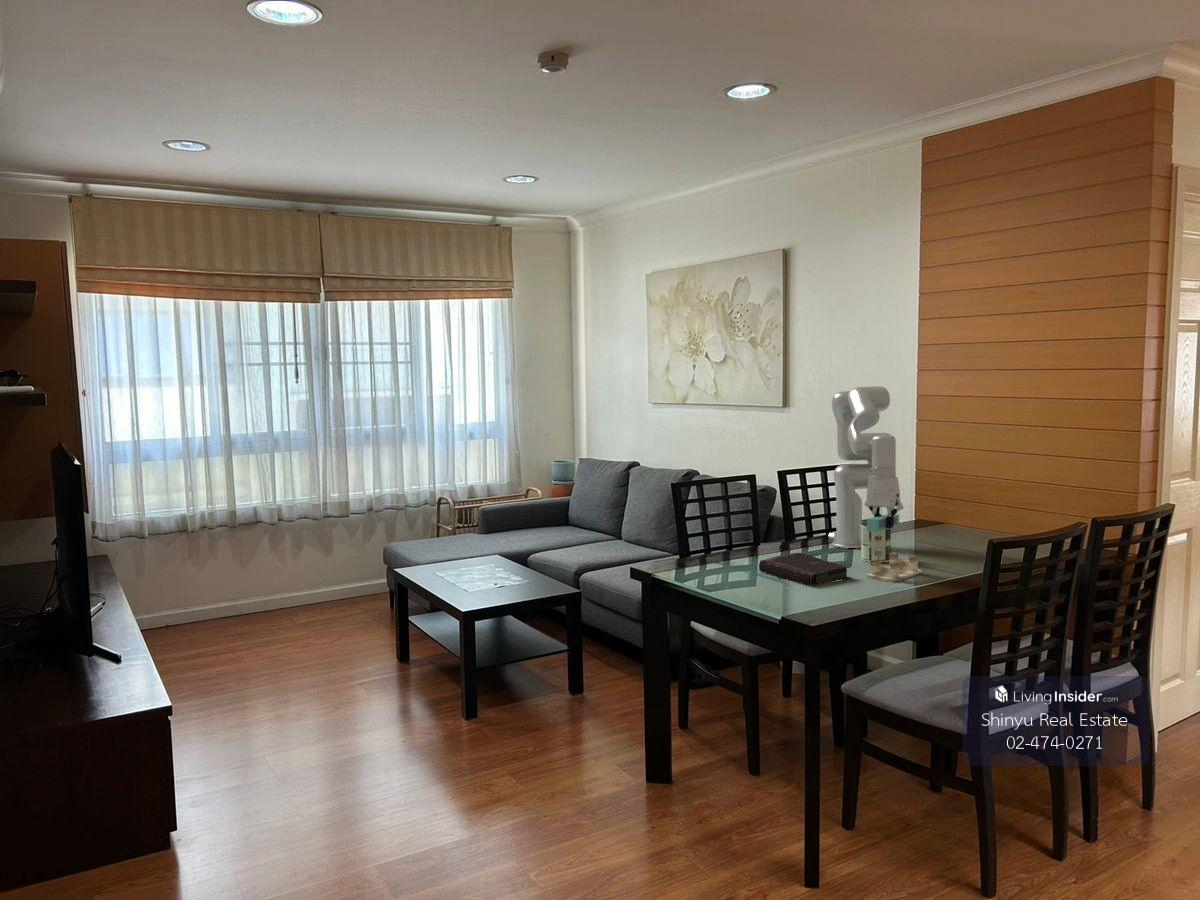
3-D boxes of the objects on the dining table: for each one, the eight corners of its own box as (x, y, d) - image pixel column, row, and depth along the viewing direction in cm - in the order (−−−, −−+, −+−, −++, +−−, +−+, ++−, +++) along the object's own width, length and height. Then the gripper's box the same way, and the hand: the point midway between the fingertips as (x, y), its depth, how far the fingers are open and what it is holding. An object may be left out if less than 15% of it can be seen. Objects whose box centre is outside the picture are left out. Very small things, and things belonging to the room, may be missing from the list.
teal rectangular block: (867, 530, 282) (867, 518, 282) (889, 525, 291) (889, 513, 291) (877, 532, 279) (876, 519, 279) (899, 526, 289) (899, 514, 288)
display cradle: (866, 577, 282) (866, 560, 281) (894, 568, 294) (894, 551, 293) (894, 582, 275) (894, 564, 274) (921, 572, 287) (922, 555, 286)
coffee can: (879, 555, 313) (879, 517, 312) (897, 561, 303) (897, 522, 302) (854, 558, 310) (854, 519, 309) (872, 564, 300) (872, 524, 299)
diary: (810, 589, 273) (810, 573, 272) (758, 574, 294) (758, 559, 294) (852, 579, 282) (852, 564, 281) (799, 565, 303) (799, 551, 303)
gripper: (855, 471, 288) (855, 525, 289) (900, 475, 275) (900, 531, 277) (867, 469, 293) (867, 523, 294) (912, 473, 280) (912, 528, 282)
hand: (883, 526), depth 285 cm, fingers closed on teal rectangular block, 3 cm apart
